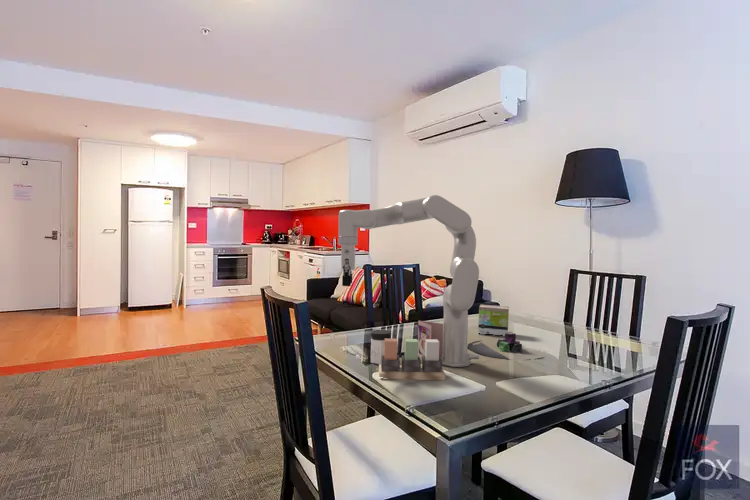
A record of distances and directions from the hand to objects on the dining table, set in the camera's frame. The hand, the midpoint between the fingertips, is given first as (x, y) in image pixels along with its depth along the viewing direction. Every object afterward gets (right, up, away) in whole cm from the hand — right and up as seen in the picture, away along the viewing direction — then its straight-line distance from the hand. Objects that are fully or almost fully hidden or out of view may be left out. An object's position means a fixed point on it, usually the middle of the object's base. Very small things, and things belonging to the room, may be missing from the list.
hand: (347, 284), depth 169 cm
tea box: (+73, -31, +57) cm, 98 cm away
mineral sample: (+71, -32, +25) cm, 82 cm away
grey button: (+32, -26, -14) cm, 43 cm away
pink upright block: (+17, -26, -14) cm, 34 cm away
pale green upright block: (+24, -26, -14) cm, 38 cm away
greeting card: (+34, -32, +8) cm, 47 cm away
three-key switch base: (+24, -32, -14) cm, 42 cm away
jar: (+13, -31, +2) cm, 34 cm away
